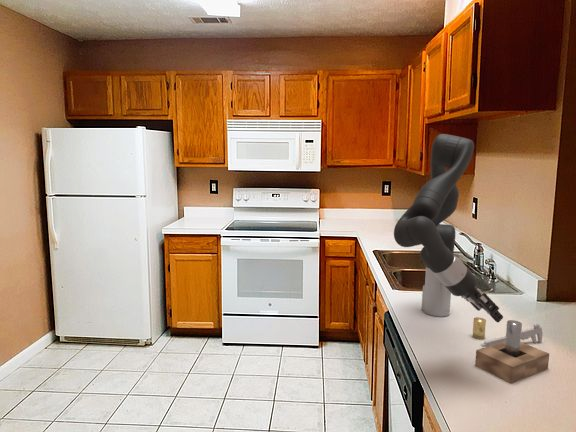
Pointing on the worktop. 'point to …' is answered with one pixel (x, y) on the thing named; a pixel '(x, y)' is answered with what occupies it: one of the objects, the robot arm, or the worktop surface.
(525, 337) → the caliper
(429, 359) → the worktop surface
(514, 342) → the long pin
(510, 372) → the hole block
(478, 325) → the short pin
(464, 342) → the worktop surface
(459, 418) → the worktop surface
